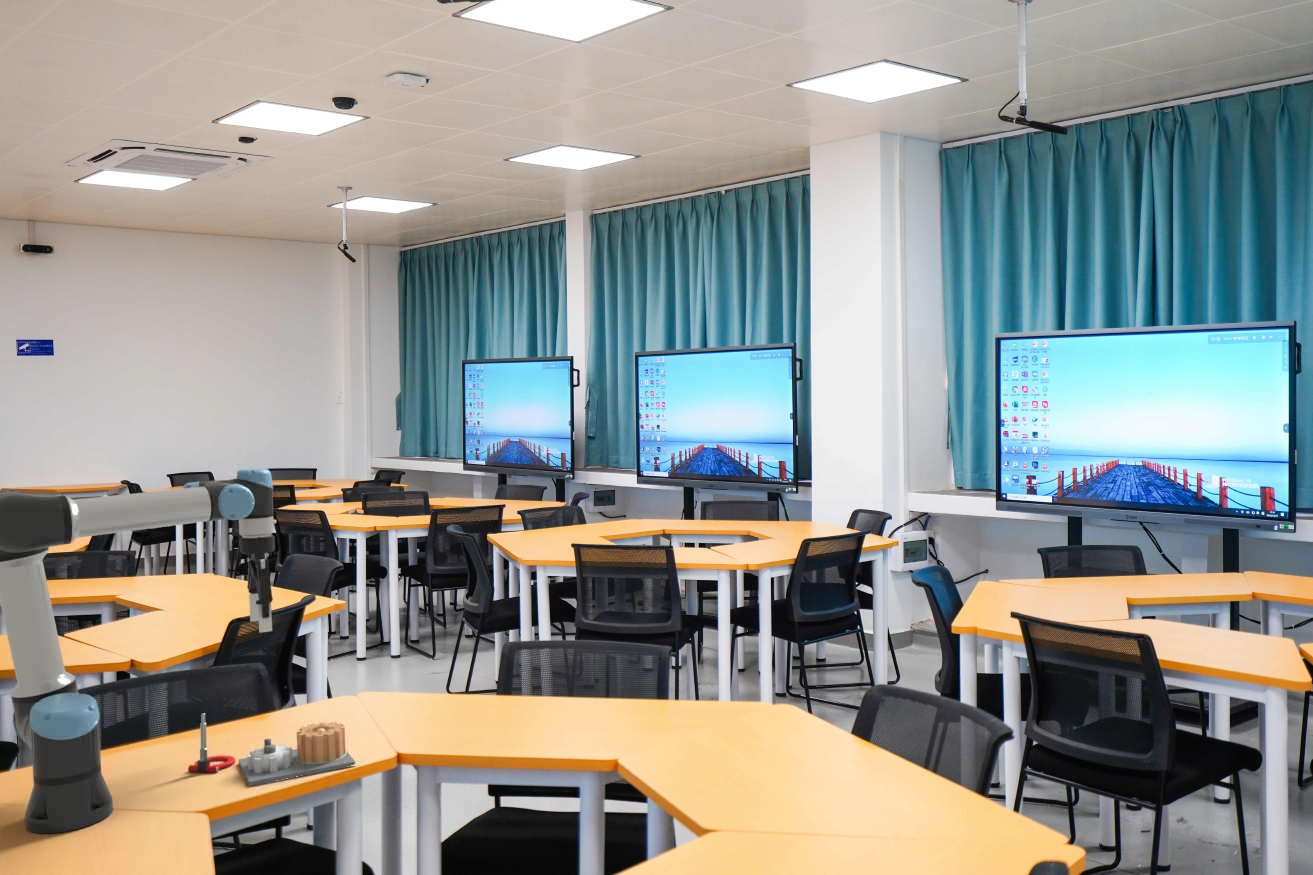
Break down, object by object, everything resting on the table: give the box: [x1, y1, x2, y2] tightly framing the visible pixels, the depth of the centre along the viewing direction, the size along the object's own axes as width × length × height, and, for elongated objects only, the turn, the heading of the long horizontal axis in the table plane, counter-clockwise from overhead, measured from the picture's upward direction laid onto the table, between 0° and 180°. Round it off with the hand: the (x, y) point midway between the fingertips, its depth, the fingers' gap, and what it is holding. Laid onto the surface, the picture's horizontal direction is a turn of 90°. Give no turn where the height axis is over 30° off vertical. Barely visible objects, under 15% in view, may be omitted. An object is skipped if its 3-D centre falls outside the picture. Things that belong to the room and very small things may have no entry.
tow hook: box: [187, 712, 236, 774], centre depth 233 cm, size 8×13×9 cm
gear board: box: [238, 728, 356, 787], centre depth 232 cm, size 22×16×7 cm
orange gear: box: [296, 721, 347, 764], centre depth 235 cm, size 10×10×6 cm
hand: (261, 626), depth 243 cm, fingers open, 13 cm apart
